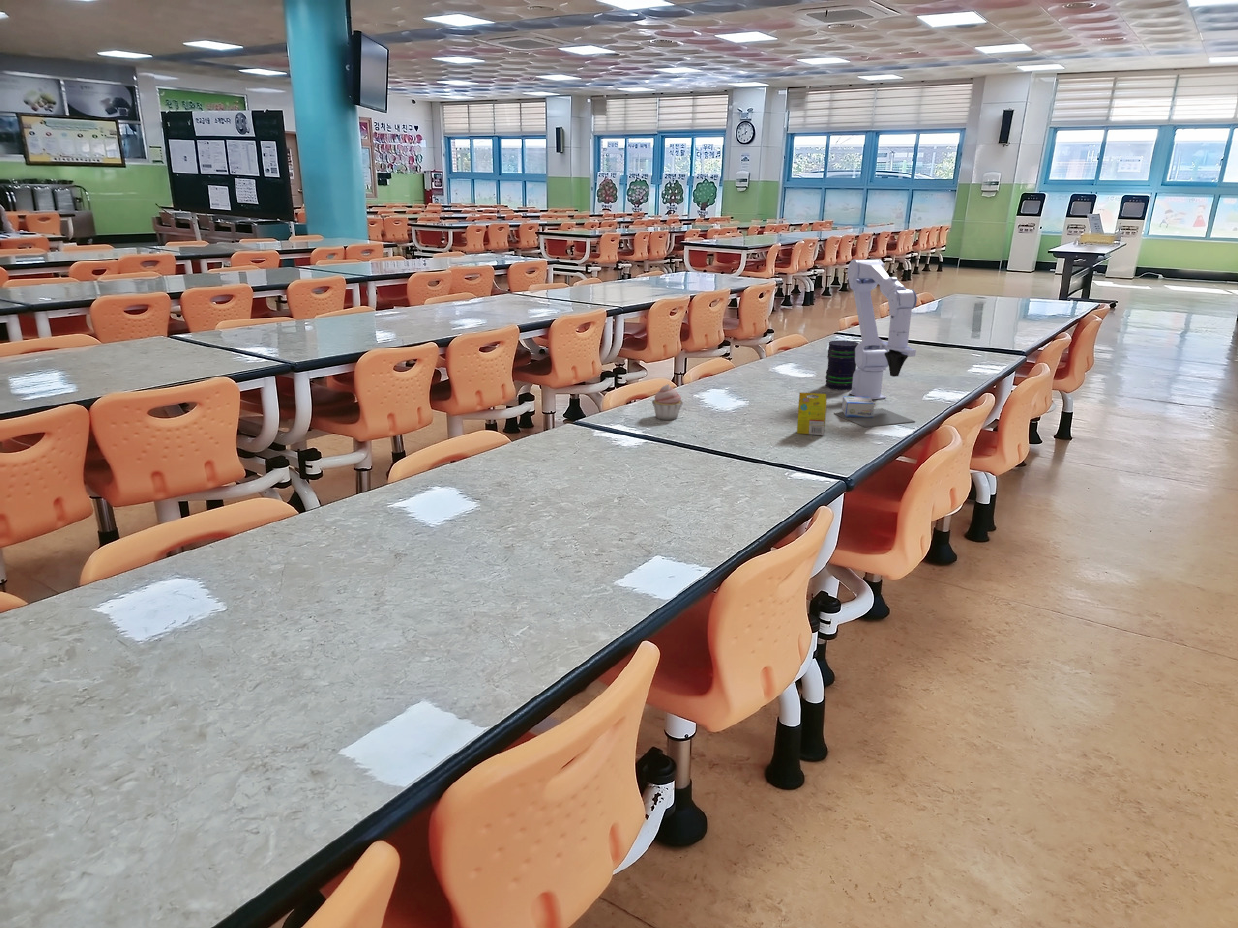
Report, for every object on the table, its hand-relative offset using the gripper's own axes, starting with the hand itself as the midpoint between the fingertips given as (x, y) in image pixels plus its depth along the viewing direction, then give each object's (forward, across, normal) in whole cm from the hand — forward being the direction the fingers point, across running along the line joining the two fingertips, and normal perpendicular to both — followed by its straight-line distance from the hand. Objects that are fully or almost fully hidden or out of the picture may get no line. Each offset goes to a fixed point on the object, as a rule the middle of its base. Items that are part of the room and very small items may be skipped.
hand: (894, 376), depth 251 cm
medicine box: (+8, 0, -13) cm, 15 cm away
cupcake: (+10, -12, -69) cm, 71 cm away
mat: (+10, +8, -12) cm, 18 cm away
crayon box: (+10, +16, -38) cm, 42 cm away
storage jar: (+10, -29, +1) cm, 31 cm away
